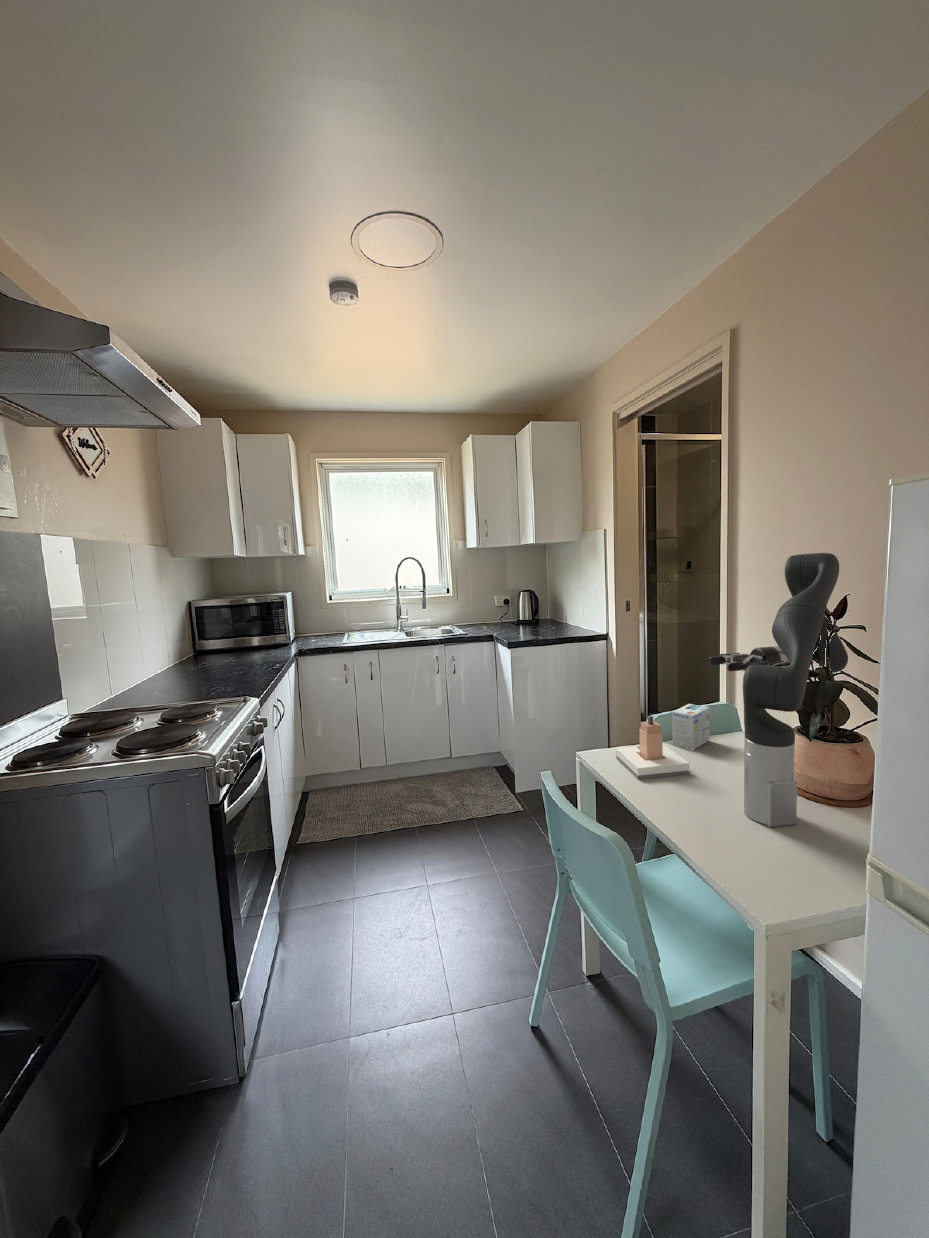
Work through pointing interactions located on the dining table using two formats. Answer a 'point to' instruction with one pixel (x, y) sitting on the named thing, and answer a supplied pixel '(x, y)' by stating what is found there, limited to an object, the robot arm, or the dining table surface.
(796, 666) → the robot arm
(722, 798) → the dining table surface
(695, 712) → the light bulb box
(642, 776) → the socket plate
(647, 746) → the plug
